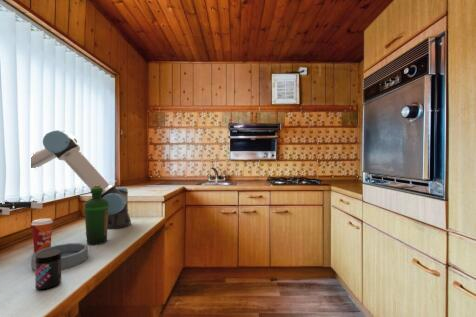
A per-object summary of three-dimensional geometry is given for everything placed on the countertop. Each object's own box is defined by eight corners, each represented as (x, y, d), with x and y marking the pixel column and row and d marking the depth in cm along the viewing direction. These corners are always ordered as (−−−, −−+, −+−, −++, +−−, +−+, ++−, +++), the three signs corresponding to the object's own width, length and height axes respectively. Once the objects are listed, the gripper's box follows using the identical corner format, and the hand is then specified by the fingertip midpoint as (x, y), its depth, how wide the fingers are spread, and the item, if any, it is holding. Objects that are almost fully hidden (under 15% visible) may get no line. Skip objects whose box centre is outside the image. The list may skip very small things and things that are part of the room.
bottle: (114, 240, 125) (113, 184, 125) (95, 247, 115) (95, 186, 115) (98, 238, 129) (97, 183, 129) (78, 244, 119) (78, 186, 119)
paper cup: (41, 255, 105) (40, 222, 105) (26, 254, 107) (26, 221, 107) (57, 249, 113) (57, 218, 113) (44, 248, 115) (43, 217, 115)
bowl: (87, 250, 111) (87, 240, 111) (88, 264, 96) (88, 253, 96) (36, 259, 102) (36, 248, 102) (27, 276, 87) (27, 264, 87)
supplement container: (34, 285, 80) (34, 253, 80) (60, 279, 85) (60, 248, 85) (35, 294, 75) (35, 259, 75) (62, 286, 80) (62, 254, 80)
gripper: (23, 208, 131) (53, 211, 125) (-42, 219, 107) (-8, 223, 101) (23, 194, 131) (53, 196, 125) (-42, 202, 107) (-8, 204, 101)
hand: (26, 208), depth 113 cm, fingers open, 13 cm apart
